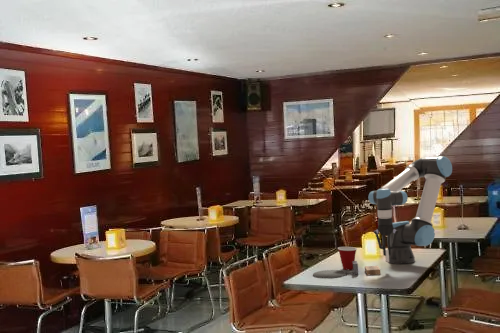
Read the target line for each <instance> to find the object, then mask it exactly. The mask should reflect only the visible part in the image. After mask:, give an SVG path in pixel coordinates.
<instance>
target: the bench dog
mask: <svg viewBox="0 0 500 333" xmlns="http://www.w3.org/2000/svg"><path fill="white" fill-rule="evenodd" d="M352 265H353V269H352V274H353V275H354V276H359V264H358V261H357V260H355V261H352Z"/></svg>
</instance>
